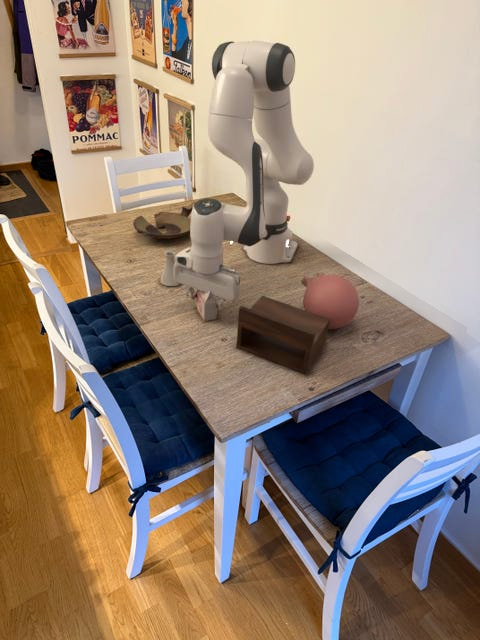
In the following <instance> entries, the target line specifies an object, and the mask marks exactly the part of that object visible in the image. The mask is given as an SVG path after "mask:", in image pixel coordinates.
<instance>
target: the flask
mask: <svg viewBox="0 0 480 640" xmlns="http://www.w3.org/2000/svg"><path fill="white" fill-rule="evenodd" d="M175 256H176V252H174V251H171V250H170V251H169V250H168V251H166V252H165V253H164V257H165V258H166V259H165V265H164V267H163V271H162V274H161V277H160V284H161V285H164V286H167V287H177V286H179V285H181V283H178V282H176V281H175V279H174V277H173V269H174V264H175V259H174V257H175Z"/></svg>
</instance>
